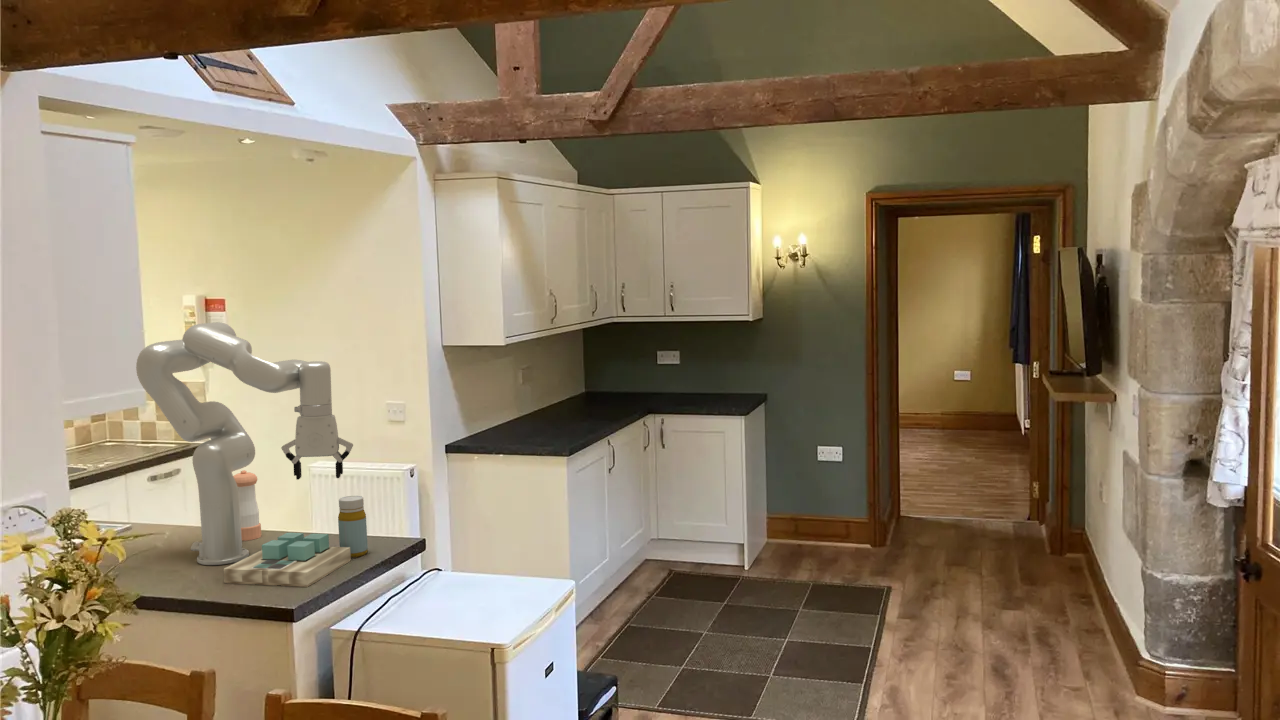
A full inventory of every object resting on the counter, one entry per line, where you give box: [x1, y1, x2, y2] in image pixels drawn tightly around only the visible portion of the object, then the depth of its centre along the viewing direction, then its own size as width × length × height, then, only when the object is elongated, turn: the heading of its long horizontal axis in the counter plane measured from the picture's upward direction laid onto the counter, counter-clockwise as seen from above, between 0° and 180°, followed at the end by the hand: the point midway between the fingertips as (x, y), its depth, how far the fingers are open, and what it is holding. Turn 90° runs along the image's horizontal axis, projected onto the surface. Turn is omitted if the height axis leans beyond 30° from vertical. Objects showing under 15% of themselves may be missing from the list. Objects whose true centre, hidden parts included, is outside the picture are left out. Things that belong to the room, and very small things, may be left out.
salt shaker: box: [233, 470, 262, 542], centre depth 281 cm, size 7×7×19 cm
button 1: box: [261, 539, 289, 560], centre depth 249 cm, size 5×5×4 cm
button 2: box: [277, 532, 305, 545], centre depth 255 cm, size 5×5×4 cm
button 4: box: [303, 533, 330, 552], centre depth 254 cm, size 5×5×4 cm
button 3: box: [287, 541, 315, 561], centre depth 247 cm, size 5×5×4 cm
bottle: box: [337, 495, 369, 559], centre depth 261 cm, size 7×7×15 cm
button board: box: [223, 546, 352, 588], centre depth 248 cm, size 22×21×4 cm
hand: (318, 477), depth 252 cm, fingers open, 9 cm apart
